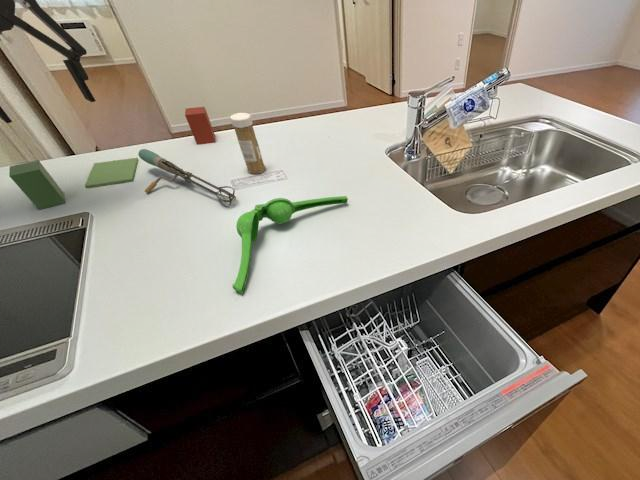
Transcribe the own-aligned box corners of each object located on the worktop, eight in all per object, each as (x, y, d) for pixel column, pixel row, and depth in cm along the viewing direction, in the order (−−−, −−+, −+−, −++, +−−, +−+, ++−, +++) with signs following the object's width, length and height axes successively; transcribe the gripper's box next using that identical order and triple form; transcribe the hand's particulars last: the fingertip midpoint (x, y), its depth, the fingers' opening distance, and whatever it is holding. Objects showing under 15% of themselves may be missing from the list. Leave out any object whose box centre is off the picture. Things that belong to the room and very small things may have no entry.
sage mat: (95, 165, 90) (94, 163, 90) (138, 159, 93) (137, 157, 92) (86, 188, 83) (84, 185, 82) (133, 181, 85) (131, 178, 85)
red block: (197, 137, 103) (185, 108, 97) (215, 135, 104) (204, 106, 98) (197, 144, 99) (184, 115, 94) (215, 142, 101) (204, 112, 95)
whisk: (219, 236, 78) (200, 219, 72) (128, 186, 87) (105, 167, 81) (248, 201, 81) (232, 182, 75) (158, 156, 90) (137, 136, 84)
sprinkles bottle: (269, 168, 91) (254, 114, 81) (257, 176, 88) (240, 120, 78) (255, 164, 92) (239, 110, 82) (243, 172, 89) (225, 116, 79)
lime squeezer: (242, 295, 60) (230, 269, 56) (195, 272, 64) (180, 245, 59) (350, 204, 80) (348, 179, 76) (310, 190, 84) (305, 165, 79)
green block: (38, 199, 79) (9, 166, 73) (64, 193, 81) (38, 160, 75) (38, 209, 76) (9, 176, 70) (65, 202, 78) (39, 169, 72)
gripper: (-188, -47, 41) (-27, 137, 56) (54, -52, 54) (129, 97, 70) (-198, -52, 43) (-42, 124, 59) (35, -55, 57) (111, 88, 73)
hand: (51, 110), depth 65 cm, fingers open, 13 cm apart
